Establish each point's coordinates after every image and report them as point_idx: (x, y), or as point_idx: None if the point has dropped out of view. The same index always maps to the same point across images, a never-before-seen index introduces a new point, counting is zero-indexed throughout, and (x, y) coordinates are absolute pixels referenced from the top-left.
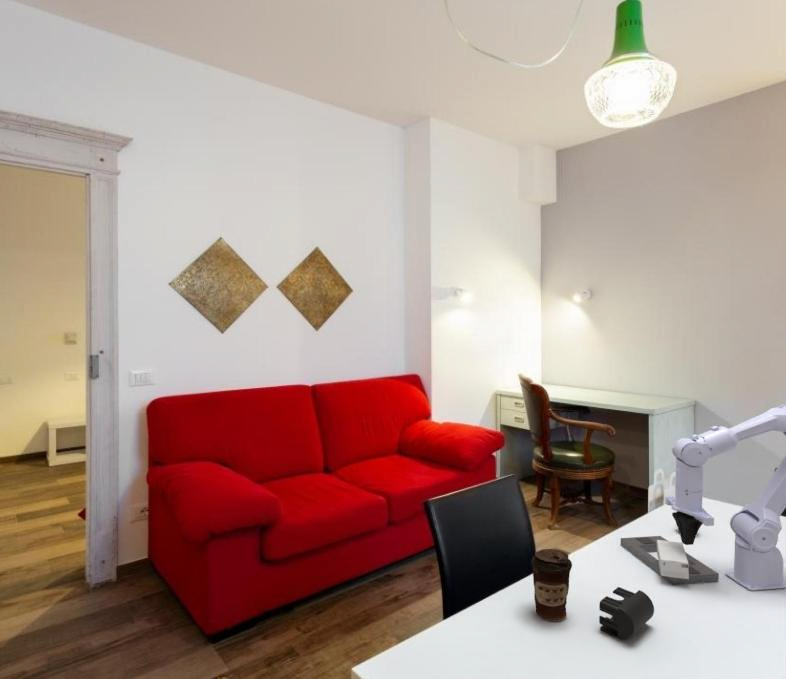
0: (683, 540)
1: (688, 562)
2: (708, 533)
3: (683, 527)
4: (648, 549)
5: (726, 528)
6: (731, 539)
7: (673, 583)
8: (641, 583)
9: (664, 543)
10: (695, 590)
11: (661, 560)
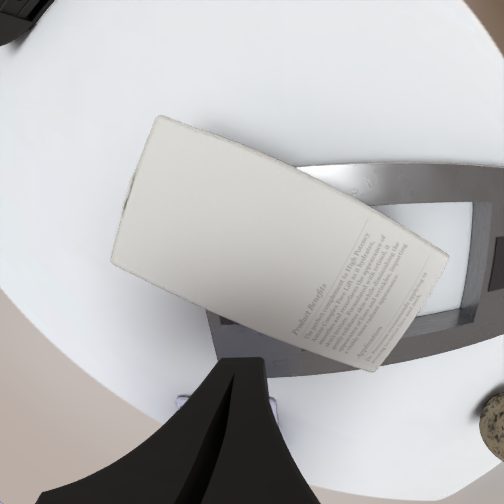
0: (229, 370)
1: None
2: (467, 434)
3: (152, 462)
4: (476, 246)
5: (459, 459)
6: (428, 459)
7: None
8: (210, 57)
9: (392, 272)
10: None
11: (157, 120)
